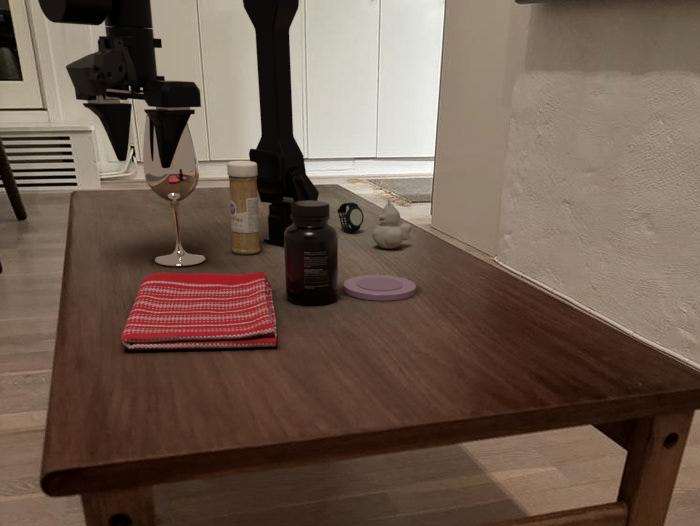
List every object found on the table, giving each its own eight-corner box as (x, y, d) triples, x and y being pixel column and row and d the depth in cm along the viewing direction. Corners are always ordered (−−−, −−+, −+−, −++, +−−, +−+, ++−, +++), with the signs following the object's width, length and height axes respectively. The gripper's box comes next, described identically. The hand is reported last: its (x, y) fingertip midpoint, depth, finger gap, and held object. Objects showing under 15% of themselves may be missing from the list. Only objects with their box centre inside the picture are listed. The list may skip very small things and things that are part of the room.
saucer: (373, 276, 108) (373, 270, 107) (430, 289, 102) (430, 283, 102) (328, 290, 101) (328, 283, 100) (386, 305, 95) (386, 298, 95)
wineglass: (194, 268, 109) (181, 118, 99) (145, 265, 110) (127, 116, 100) (213, 256, 115) (203, 114, 105) (167, 253, 117) (152, 112, 107)
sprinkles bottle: (226, 251, 118) (220, 161, 112) (247, 247, 121) (243, 159, 115) (245, 256, 116) (240, 164, 109) (266, 252, 119) (263, 162, 112)
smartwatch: (343, 235, 131) (344, 205, 129) (336, 229, 136) (336, 200, 133) (365, 234, 132) (366, 205, 130) (357, 228, 137) (358, 200, 134)
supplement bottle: (345, 295, 99) (346, 201, 93) (326, 309, 93) (326, 210, 87) (298, 289, 101) (296, 196, 95) (277, 302, 95) (273, 205, 89)
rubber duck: (368, 245, 125) (369, 195, 121) (404, 243, 127) (407, 194, 123) (377, 252, 121) (379, 200, 117) (415, 250, 122) (418, 200, 118)
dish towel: (270, 289, 101) (270, 269, 99) (280, 349, 80) (279, 326, 79) (142, 291, 98) (139, 271, 97) (118, 354, 78) (115, 330, 77)
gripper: (27, 24, 90) (49, 161, 98) (121, 24, 81) (137, 177, 88) (104, 28, 98) (119, 156, 106) (199, 29, 88) (208, 170, 96)
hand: (143, 164), depth 99 cm, fingers open, 9 cm apart
